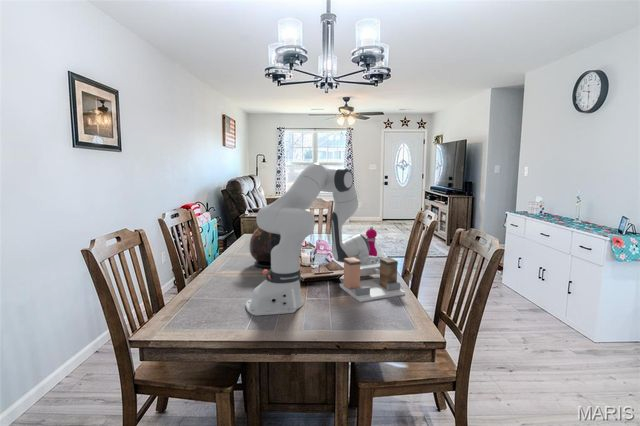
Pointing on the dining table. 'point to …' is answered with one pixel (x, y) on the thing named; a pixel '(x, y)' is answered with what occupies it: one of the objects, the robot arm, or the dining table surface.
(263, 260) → the amphora vase
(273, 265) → the robot arm
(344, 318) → the dining table surface
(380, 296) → the plate
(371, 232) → the pepper mill
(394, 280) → the walnut plug
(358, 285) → the terracotta plug
